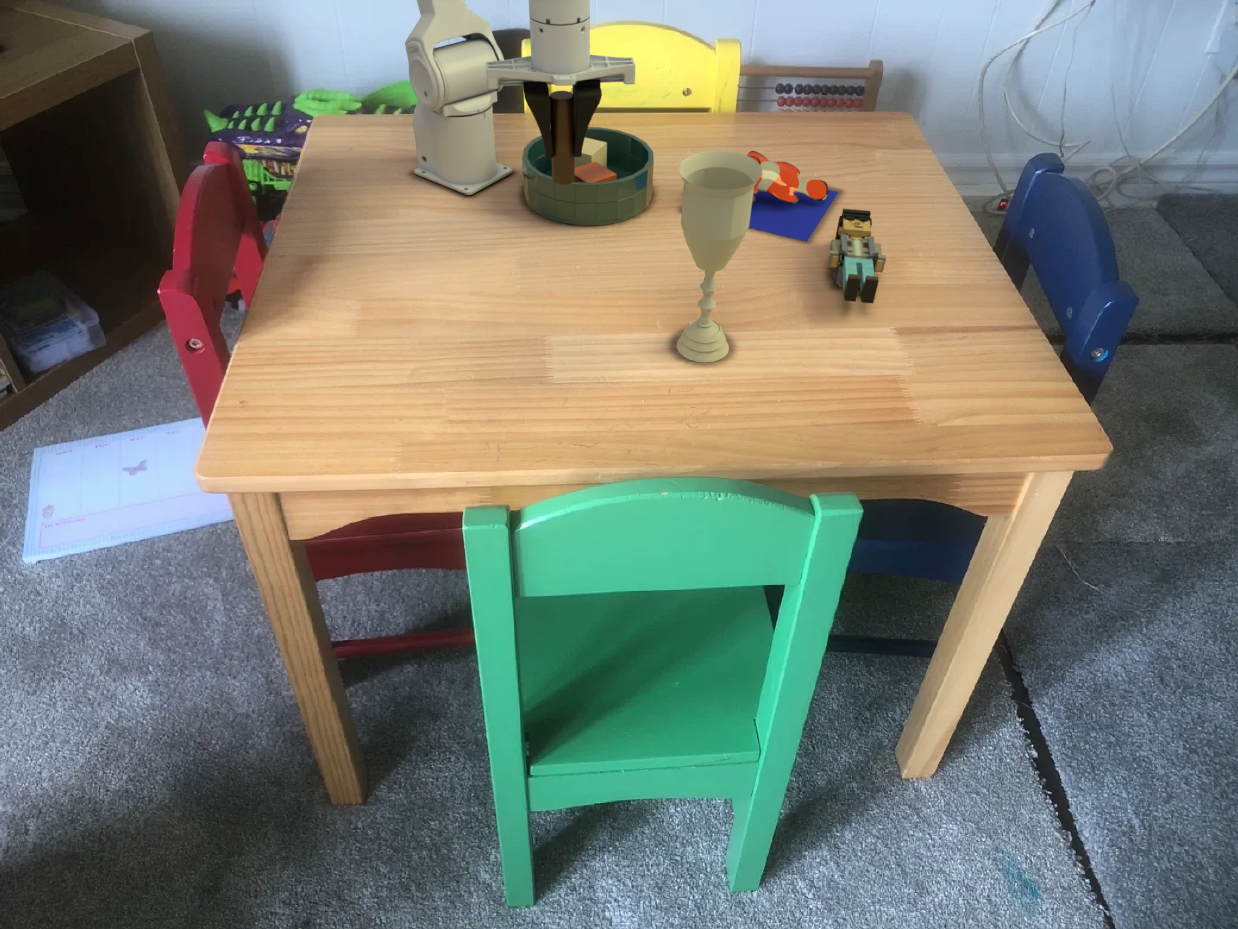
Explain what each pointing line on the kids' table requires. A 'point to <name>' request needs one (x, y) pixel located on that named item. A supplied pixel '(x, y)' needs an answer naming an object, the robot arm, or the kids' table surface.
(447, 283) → the kids' table surface
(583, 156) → the cream block
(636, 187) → the bowl
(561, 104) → the dark brown cylinder
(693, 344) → the chalice
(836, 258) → the toy
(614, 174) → the terracotta block
